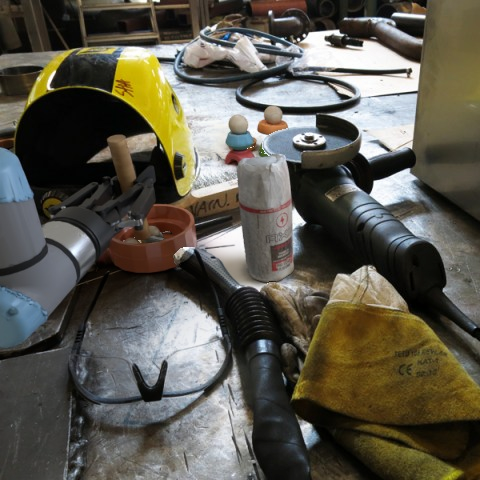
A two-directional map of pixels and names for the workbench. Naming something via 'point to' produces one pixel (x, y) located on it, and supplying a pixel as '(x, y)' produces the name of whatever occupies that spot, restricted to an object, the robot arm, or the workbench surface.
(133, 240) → the bead
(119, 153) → the stick
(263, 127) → the multicoloured wooden toy
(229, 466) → the workbench surface
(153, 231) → the bead
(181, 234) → the bowl
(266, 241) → the spray can
